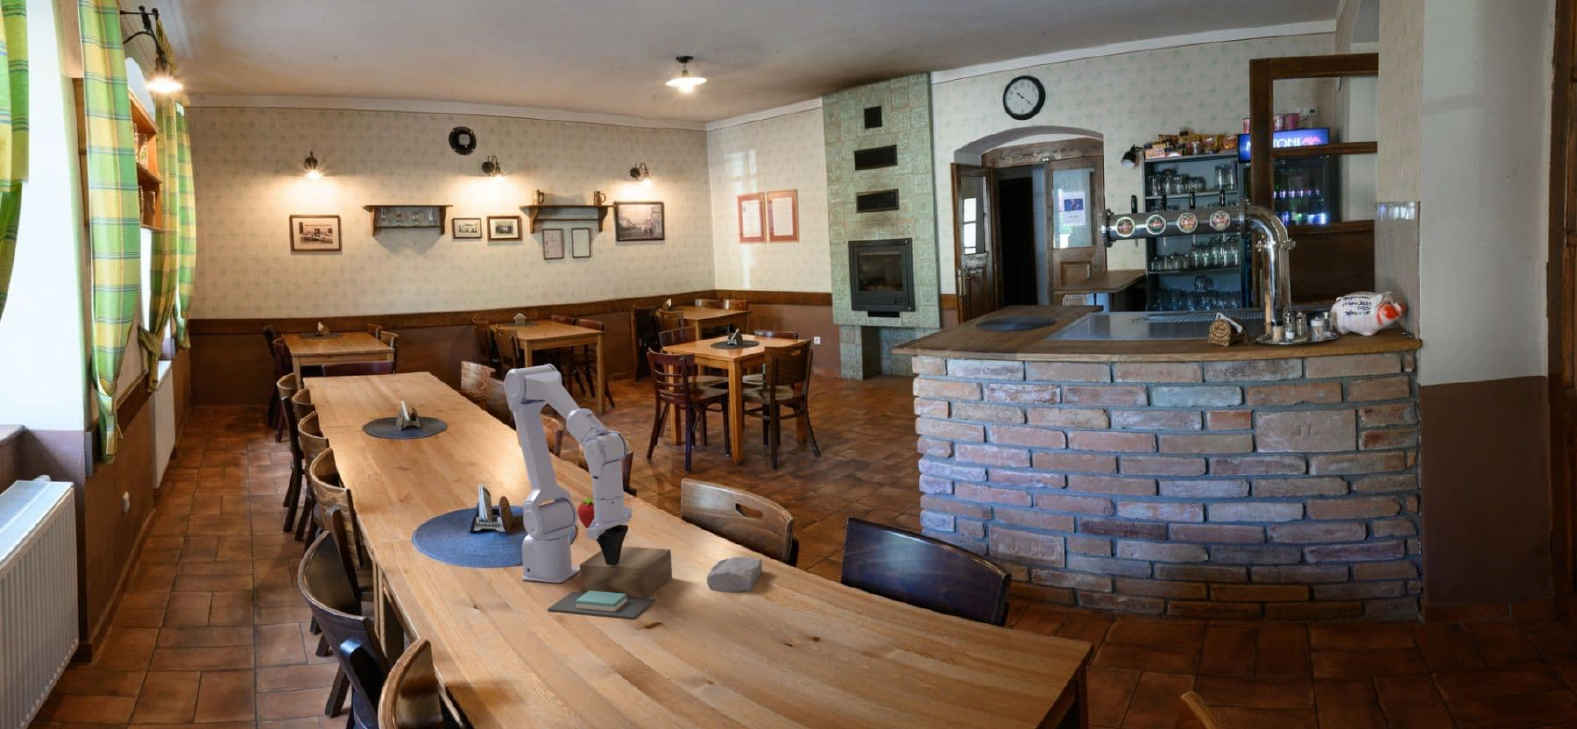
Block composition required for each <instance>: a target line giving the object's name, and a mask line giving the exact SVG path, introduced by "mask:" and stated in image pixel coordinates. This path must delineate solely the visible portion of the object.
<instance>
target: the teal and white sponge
mask: <svg viewBox="0 0 1577 729" xmlns="http://www.w3.org/2000/svg"><path fill="white" fill-rule="evenodd" d="M626 602H627V595H626V594H622V593H611V592H599V591H588V592H587V593H585V594H584V595H582V596H581V597H580V598H578V599H577V600H576V608H582V609H593V610H603V611H616V610H617V609H618V608H619V607H621V606H622V605H623V604H624V603H626Z"/></svg>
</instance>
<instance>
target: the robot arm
mask: <svg viewBox="0 0 1577 729" xmlns="http://www.w3.org/2000/svg"><path fill="white" fill-rule="evenodd" d="M562 379H563V378H562V374H561V372H560V371H559V370H558V369H557V368H556V367H555V365H554V364H551V363H546V364H544V365H536V366H530V367H523V368H512V369H509V371H508V372H507V373H506V375H505V378H504V380H503V389H504V393H505V397H506V402H507V405H508V408H509V411H511V412H512V415H513V418H514V423H515V427H516V431H517V434H518V440H519V443H520V447H521V452H522V456H523V460H524V464H525V468H526V472H527V473H526V474H527V476H528V480H529V484H530V485H529V486H530V490H531V492H530V494H529V495H528V496H527V497H526V499H525V500H524V501H523V503H522V505H521V506H522V512H523V518H522V520H523V527H524V529H525V531H526V532H527V535H526V536H525V537H524V539H523V540H522V541H523V542H522V545H521V555H522V567H523V568H522V570H523V576H522V577H521V580H522V581H533V582H543V583H544V582H545V583H553V584H554V583H555V584H556V583H558V584H562V583H564V582H565V581H567V580H568V579H570V578H572V576H574V575H575V574H577V573H579V572H580V567H574V566H573V564H572V563H573V562H572V549H571V535H570V533H572V532H573V527H574V526H575V525H576V524H577V521H578V513H577V511H578V509H577V508H576V505H575V503H574V502H573V500H572V497H571V494H570V492H569V491H568V490H566V489H565V488H563V487H561V486H559V485H558V483H557V482H558V481H557V478H556V475H555V470H554V466H553V461H552V458H551V453H550V450H549V445H548V441H547V437H546V433H545V428H544V425H543V420H542V416H541V411H542V409H543V407H544V406H545V405H547V404H548V405H550V406H551V407H552V408H553V409H554V410H555V411H556V412H558V414H559V415H560V416H561V417H562V418H563V419H565V421H566V422H565V428H566V430H567V431H568V432H569V433H570V435H571V436H572V437H573V438H574V439H575V440H576V441H577V442H578V444H579V445H580V446H581V447H582V448H583V449H584V450H582V451H583V456H584V458H585V461H586V463H587V466H588V472H589V474H590V475H591V482H592V493H593V494H592V499H593V500H594V516H595V518H594V520H593V521H592V523H591V525H590V527H589V528H587V529H586V528H585V529H586V530H585V531H586V539H587V540H596V541H597V543H598V545H599V547H600V551H601V550H602V553H603V555H604V559H605V562H606V564H607V565H617V564H618V563H619V560H620V554H621V549H622V546H623V544H624V541H625V537H626V535H627V533H628V531H629V525H628V523H629V522H631V518H633V511H632V507H625V501H624V498H625V497H624V485H623V484H624V483H623V469H622V468H623V466H622V465H623V464H622V461H623V460H625V458H626V456H627V453H628V445H627V444H628V443H627V441H626V439H625V437H624V436H623V435H622V433H621V432H620V431H618V430H617V431H616V430H615V431H613V430H612V429H608V428H607V427H606V426H605V425H604V424H603V422H601V421H600V420H599V419H598V418H597V417H596V415H595V414H594V412H592V410H591V409H589V408H580V406H579V405H578V404H577V402H576V401H575V400H574V398H573V397H572V396H571V394H570V393H569V392H568V390H567V389H566V388H565V387H564V385H563V380H562ZM550 501H552V502H550ZM546 502H549V503H546ZM542 503H544V504H542ZM541 504H542V505H541Z"/></svg>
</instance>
